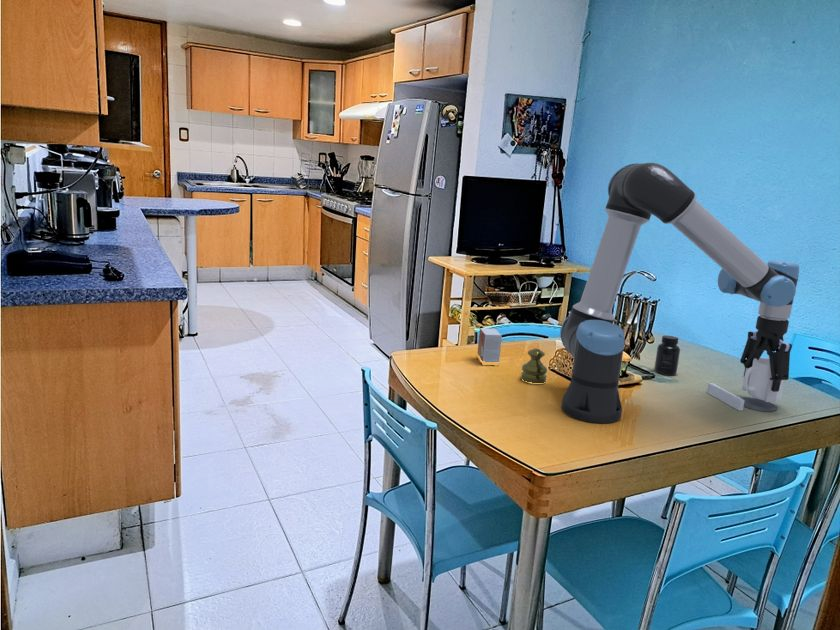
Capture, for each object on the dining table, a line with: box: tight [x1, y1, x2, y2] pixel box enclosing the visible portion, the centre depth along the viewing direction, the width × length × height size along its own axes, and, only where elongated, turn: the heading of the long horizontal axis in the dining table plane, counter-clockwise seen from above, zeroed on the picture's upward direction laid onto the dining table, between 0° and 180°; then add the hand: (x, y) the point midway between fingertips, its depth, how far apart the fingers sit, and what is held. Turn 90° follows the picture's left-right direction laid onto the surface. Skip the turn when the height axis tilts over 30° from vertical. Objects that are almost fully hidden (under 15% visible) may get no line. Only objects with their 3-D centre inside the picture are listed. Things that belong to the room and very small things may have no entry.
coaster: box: [739, 396, 778, 413], centre depth 166 cm, size 10×10×1 cm
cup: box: [742, 357, 786, 402], centre depth 164 cm, size 8×12×10 cm
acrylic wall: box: [706, 382, 745, 412], centre depth 167 cm, size 1×14×3 cm, turn 10°
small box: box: [477, 327, 503, 363], centre depth 189 cm, size 8×6×10 cm
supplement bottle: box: [653, 335, 681, 377], centre depth 189 cm, size 7×7×12 cm
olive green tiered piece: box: [520, 348, 548, 384], centre depth 174 cm, size 7×7×10 cm
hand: (758, 395), depth 165 cm, fingers closed on cup, 8 cm apart
